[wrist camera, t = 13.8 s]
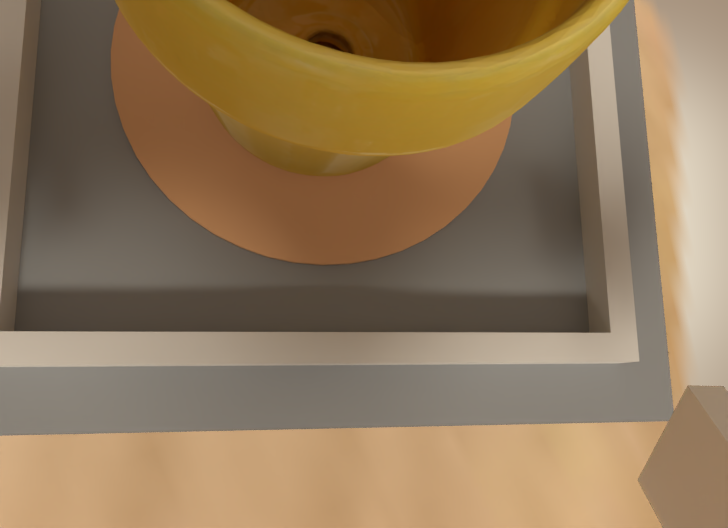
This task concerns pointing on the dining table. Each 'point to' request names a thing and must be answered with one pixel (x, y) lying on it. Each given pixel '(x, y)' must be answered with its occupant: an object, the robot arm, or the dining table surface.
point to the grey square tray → (314, 255)
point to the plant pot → (363, 69)
